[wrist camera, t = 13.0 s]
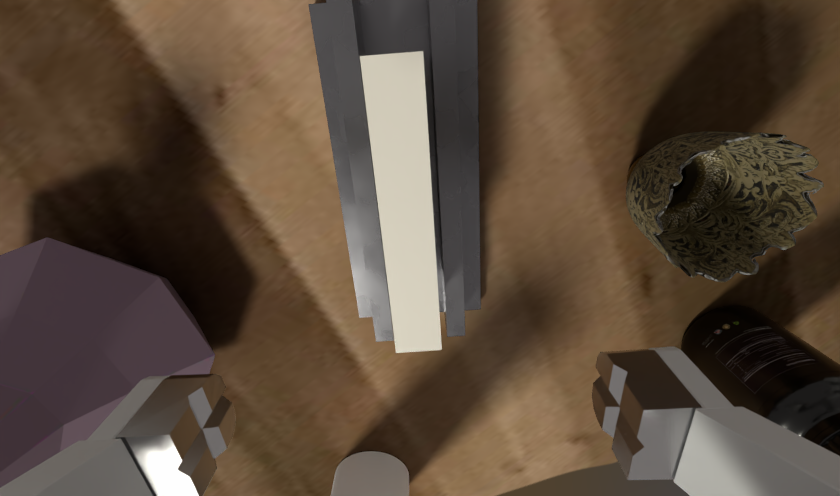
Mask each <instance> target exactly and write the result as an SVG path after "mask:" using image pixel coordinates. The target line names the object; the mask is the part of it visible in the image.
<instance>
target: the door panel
mask: <svg viewBox="0 0 840 496" xmlns="http://www.w3.org/2000/svg"><path fill="white" fill-rule="evenodd" d="M360 63H361V71H362V79H363V87H364V95H365V103H366V112H367V120H368V128H369V136H370V144H371V152H372V161H373V169H374V177H375V185H376V193H377V201H378V209H379V218H380V226H381V234H382V242H383V250H384V258H385V267H386V275H387V283H388V291H389V299H390V307H391V315H392V324H393V332H394V340H395V348H396V353H402V352H417V351H432V350H442V345H441V329H440V313H439V297H438V281H437V265H436V248H435V232H434V216H433V200H432V184H431V168H430V152H429V136H428V120H427V104H426V88H425V72H424V56H423V51H417V52H405V53H393V54H380V55H368V56H360Z"/></svg>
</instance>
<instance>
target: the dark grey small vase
mask: <svg viewBox="0 0 840 496" xmlns="http://www.w3.org/2000/svg"><path fill="white" fill-rule="evenodd" d="M785 137H787V136H785V135H781V134H769V133H747V132H694V133H688V134H683V135H679V136H675V137H673V138H670V139H668V140H665V141H663V142H661V143H659V144H658V145H656V146H655V147H653V148H652V149H651V150H649V151H648V152H647V153H645V154H643V155H641V156H640V157H639V158H638V159H637V160H636V161H635V162H634V163H633V164H632V166H631V167H630V169H629V172H628V175H627V188H626V202H627V207H628V211H629V213H630V215H631V217H632V219H633V221H634V223H635V224H636V225H637V227H638V228H639V229H640V231H641V232H642V233H643V234H644V235H645V236H646V237H647V238H648V239H649V240H650V241H651V242H652V244H653V245H654V246H655V247H656V248H657V249H658V250H659V251H660V252H661V253H662V254H663V255H664V256H665V257H666V258H667V260H668V261H669V262H670V263H671V264H672V265H674V266H675V267H676V268H677V267H680V268H681V269H682V270H683V271H684V272H685V273H686V274H687V275H688V276H690V277H693V278H694V277H695V276H697V274H700V275H702V276H704V277H706V278H708V279H711V280H714V281H718V282H726V281H728V280H729V279H730V278H731V277H733V276H734V274H735V273H737V272H738V273H740V274H743V275H753V274H756V273H757V272H758V269H759V268H758V267H759V265H758V262H756V260H755V259H754V260H753V261H752V259H753V258H754V257H755V256H761V255H765V252H766V251H765V250H766V249H768V248H769V247H778V248H781V249H782V250H786V249H788V248H790V247H793V246H794V245H795V244H796V239H795V237H794V235H793V234H792V233H794V232H796V231H799V230H802V229H804V228H805V227H806V226H808V225H809V224H810V223H811V222H812V221H813V220H814V219H816V217H817V211H816V208H815V206H814V204H813V202H812V201H811V199H810V197H809V194H810V192H812V191H815V192H817V191H818V190H819V189H821V188H822V187H824V184H823V182H822V181H820V180H817V179H815V178H812V177H810V176H807V175H806V174H804V173H806V172H809V171H812V170H813V169H814V168H816V167H817V166H818V161H817V159H815V158H814V157H813V156H812V155H811V154H806V153H805V152H808V151H810V149H809V148H807V147H805V146H802V145H799V144H796V143H793V142H791V141H790V140H782V139H783V138H785ZM807 192H809V193H807ZM815 192H813V194H814V193H815ZM753 262H754V263H753ZM756 265H757V266H756Z"/></svg>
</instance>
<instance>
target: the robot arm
mask: <svg viewBox="0 0 840 496" xmlns="http://www.w3.org/2000/svg"><path fill="white" fill-rule="evenodd" d="M596 368H597V370H598V372H599V374H600V375H601V376H600V377H599V378H598V379H597V380H596V381H595V382H594V383H593V390H592V400H593V407H594V411H595V414H596V417H597V420H598V422H599V424H600V426H601V428H602V430H604V431H605V432H606V433H608V434H609V435H610V436H612V437H613V438H614V439H613V445H612V450H613V452H614V454H615V456H616V458H617V460H618V462H619V464H620V466H621V468H622V470H623V472H624V473H625V476H626V477H627V480H650V479H651V480H655V479H674V482H675V483H676V484H677V485H678V486H679V487H681V488H682V489H683V490H684V491H685V492H686V493H688V494H689V495H690V496H840V456H839V455H837V454H835V453H833V452H831V451H829V450H827V449H825V448H823V447H821V446H819V445H817V444H815V443H813V442H811V441H809V440H807V439H805V438H803V437H801V436H799V435H797V434H795V433H793V432H792V431H790V430H788V429H786V428H784V427H782V426H780V425H778V424H776V423H774V422H772V421H770V420H768V419H766V418H764V417H762V416H760V415H758V414H756V413H754V412H752V411H750V410H748V409H746V408H744V407H734V406H733V405H732V404H731V403H730V402H729V401H728V400H727V399H726V398H725V397H724V395H723V394H722V393H721V392H720V391H719V390H718V389H717V388H716V387H715V386H714V385H713V384H712V383H711V382H710V380H709V379H708V378H707V377H706V376H705V375H704V374H703V373H702V372H701V371H700V370H699V369H698V368H697V367H696V365H695V364H694V363H693V362H692V361H691V360H690V359H689V358H688V357H687V356H686V355H685V354H684V353H683V352H682V350H680V349H678V348H676V347H662V348H649V349H639V350H624V351H608V352H600V353H599V355H598V357H597V361H596ZM225 389H226V386H225V383H224V381H223V379H222V376H220V375H217V374H194V375H171V376H149V377H147V378H145V379H142V380H140V382H139V383H138V384H137V385H136V386H135V387H134V388H133V389H132V390H131V392H130V393H129V394H128V395H127V396H126V397H125V398H124V399H123V400H122V401H121V403H120V404H119V405H118V406H117V407H116V408H115V409H114V410H113V411H112V413H111V414H110V415H109V416H108V417H107V418H106V419H105V420H104V421H103V422H102V424H101V425H100V426H99V427H98V428H97V429H96V430H95V431H94V432H93V434H92V435H91V436H90V437H89V438H88V439H87V440H84V441H77V442H76V443H74V444H72V445H71V446H69V447H67V448H66V449H64V450H62V451H61V452H59V453H57V454H56V455H54V456H52V457H51V458H49V459H47V460H46V461H44V462H42V463H41V464H39V465H37V466H36V467H34V468H32V469H31V470H29V471H27V472H26V473H24V474H22V475H21V476H19V477H17V478H16V479H14V480H12V481H11V482H9V483H7V484H6V485H4V486H2V487H1V488H0V496H203V494H204V492H205V490H206V489H207V487H208V485H209V483H210V481H211V479H212V477H213V475H214V473H215V471H216V469H217V465H216V461H215V458H216V457H217V456H218V455H220V454H221V453H222V452H223V451H224V450H226V449H227V447H228V445H229V443H230V441H231V439H232V437H233V433H234V428H235V423H236V418H235V410H234V407H233V404H232V402H230V401H229V400H228V399H226V398H225V397H224V396H222V395H223V393H224V391H225Z"/></svg>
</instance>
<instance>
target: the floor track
mask: <svg viewBox="0 0 840 496" xmlns="http://www.w3.org/2000/svg"><path fill="white" fill-rule="evenodd" d="M309 10H310V16H311V23H312V29H313V35H314V41H315V47H316V53H317V59H318V66H319V72H320V78H321V84H322V90H323V96H324V102H325V108H326V115H327V121H328V127H329V133H330V139H331V145H332V151H333V158H334V164H335V170H336V176H337V182H338V188H339V194H340V200H341V207H342V213H343V219H344V225H345V231H346V237H347V243H348V250H349V256H350V262H351V268H352V274H353V280H354V286H355V292H356V299H357V305H358V311H359V317H360V318H362V317H373V324H374V330H375V337H376V342H378V341H393V340H394V332H393V324H392V315H391V307H390V299H389V291H388V283H387V275H386V267H385V258H384V250H383V242H382V234H381V226H380V218H379V209H378V201H377V193H376V185H375V177H374V169H373V161H372V152H371V144H370V136H369V128H368V120H367V112H366V103H365V95H364V87H363V79H362V71H361V63H360V56H368V55H380V54H393V53H405V52H417V51H423V56H424V72H425V88H426V104H427V120H428V136H429V152H430V168H431V184H432V200H433V216H434V232H435V248H436V265H437V281H438V297H439V312H444V314H445V322H446V330H447V337H451V336H465V312H464V310H476V309H481V300H480V210H479V119H478V28H477V0H326V3H319V4H309Z"/></svg>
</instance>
